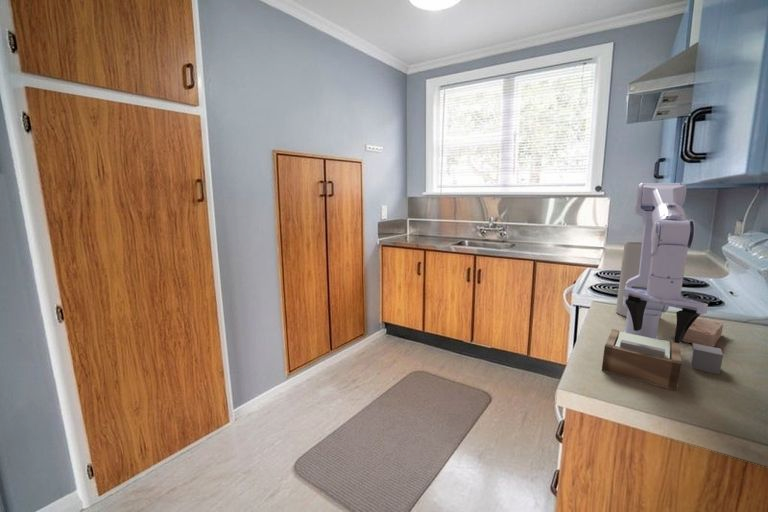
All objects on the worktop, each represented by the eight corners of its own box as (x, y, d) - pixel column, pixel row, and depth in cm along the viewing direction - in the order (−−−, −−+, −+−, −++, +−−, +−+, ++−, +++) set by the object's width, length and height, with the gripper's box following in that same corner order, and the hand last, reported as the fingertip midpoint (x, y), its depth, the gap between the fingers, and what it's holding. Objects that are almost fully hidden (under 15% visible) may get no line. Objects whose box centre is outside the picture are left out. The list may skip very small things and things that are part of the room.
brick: (685, 327, 109) (688, 313, 108) (722, 335, 102) (725, 320, 102) (672, 341, 99) (674, 325, 98) (712, 351, 92) (715, 334, 91)
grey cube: (689, 361, 85) (692, 343, 85) (717, 367, 82) (720, 348, 82) (690, 367, 82) (693, 348, 81) (719, 374, 79) (723, 355, 78)
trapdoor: (619, 335, 88) (621, 327, 88) (668, 346, 82) (670, 337, 82) (614, 350, 80) (615, 341, 79) (669, 363, 74) (670, 353, 73)
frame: (609, 350, 91) (612, 329, 90) (675, 366, 82) (679, 342, 81) (601, 370, 80) (604, 346, 79) (676, 390, 72) (681, 364, 71)
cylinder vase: (618, 317, 116) (627, 245, 112) (613, 307, 127) (621, 241, 123) (664, 324, 111) (676, 247, 107) (655, 313, 122) (665, 243, 118)
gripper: (619, 271, 78) (612, 328, 80) (701, 285, 65) (690, 352, 68) (634, 268, 81) (627, 322, 84) (715, 281, 69) (704, 344, 71)
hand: (656, 335), depth 76 cm, fingers open, 7 cm apart
